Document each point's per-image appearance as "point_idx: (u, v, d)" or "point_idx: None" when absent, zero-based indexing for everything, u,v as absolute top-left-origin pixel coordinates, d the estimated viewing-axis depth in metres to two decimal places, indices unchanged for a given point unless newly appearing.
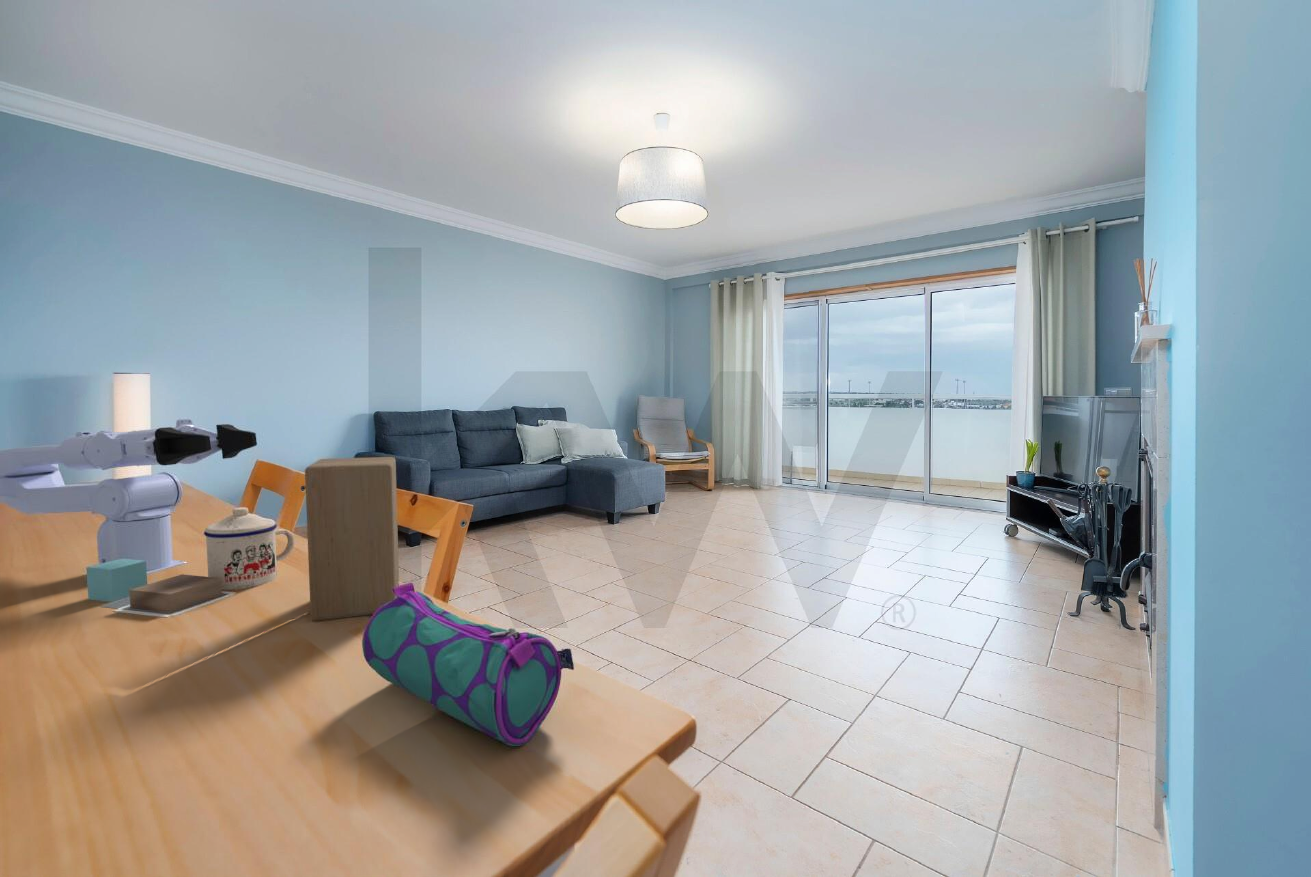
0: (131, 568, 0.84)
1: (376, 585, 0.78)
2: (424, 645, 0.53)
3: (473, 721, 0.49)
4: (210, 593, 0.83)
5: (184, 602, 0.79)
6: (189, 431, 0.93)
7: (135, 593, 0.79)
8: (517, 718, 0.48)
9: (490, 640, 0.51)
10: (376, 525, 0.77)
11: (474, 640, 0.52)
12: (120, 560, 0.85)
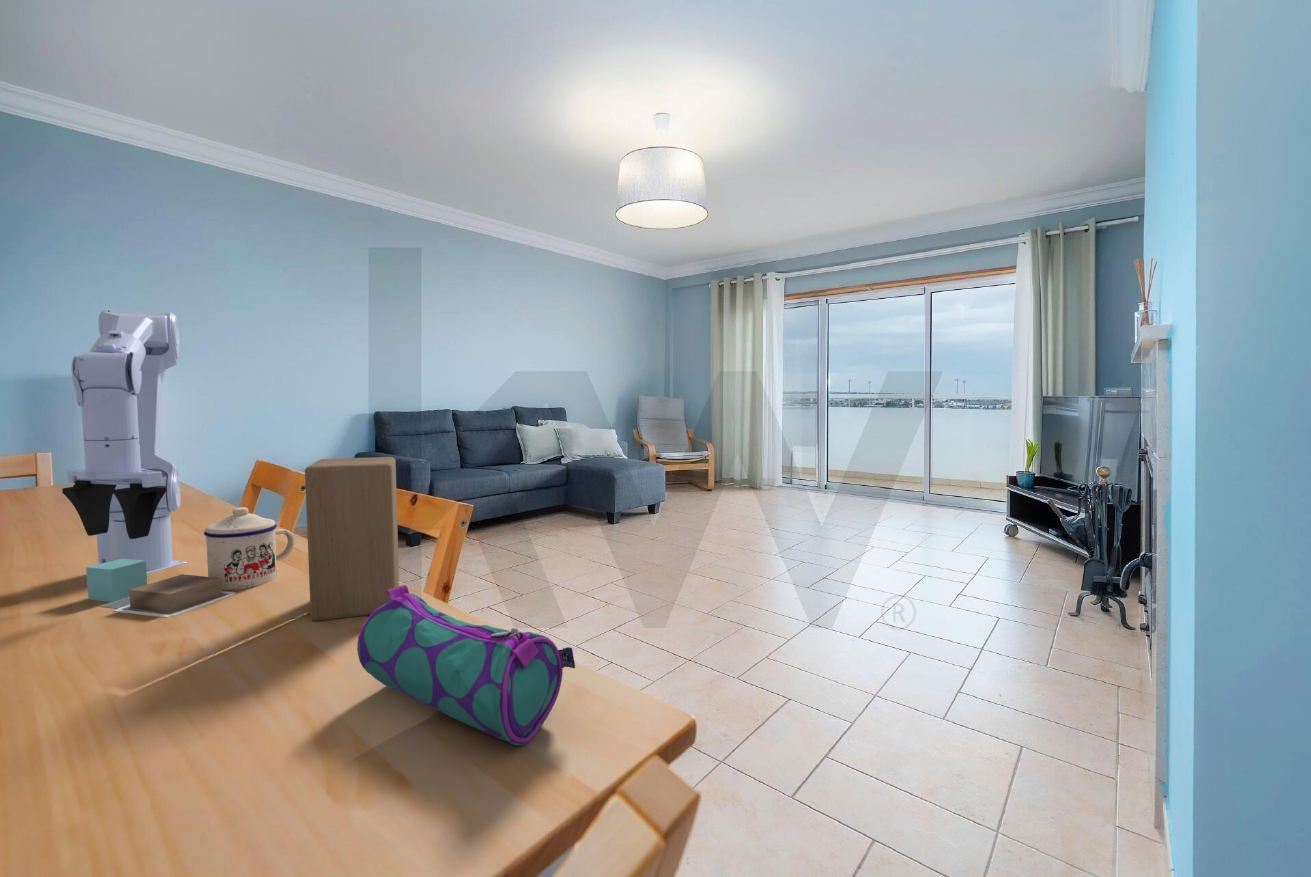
0: (131, 568, 0.84)
1: (376, 585, 0.78)
2: (424, 647, 0.53)
3: (477, 722, 0.49)
4: (210, 593, 0.83)
5: (184, 602, 0.79)
6: None
7: (135, 593, 0.79)
8: (522, 717, 0.48)
9: (492, 640, 0.51)
10: (376, 525, 0.77)
11: (475, 641, 0.52)
12: (120, 560, 0.85)
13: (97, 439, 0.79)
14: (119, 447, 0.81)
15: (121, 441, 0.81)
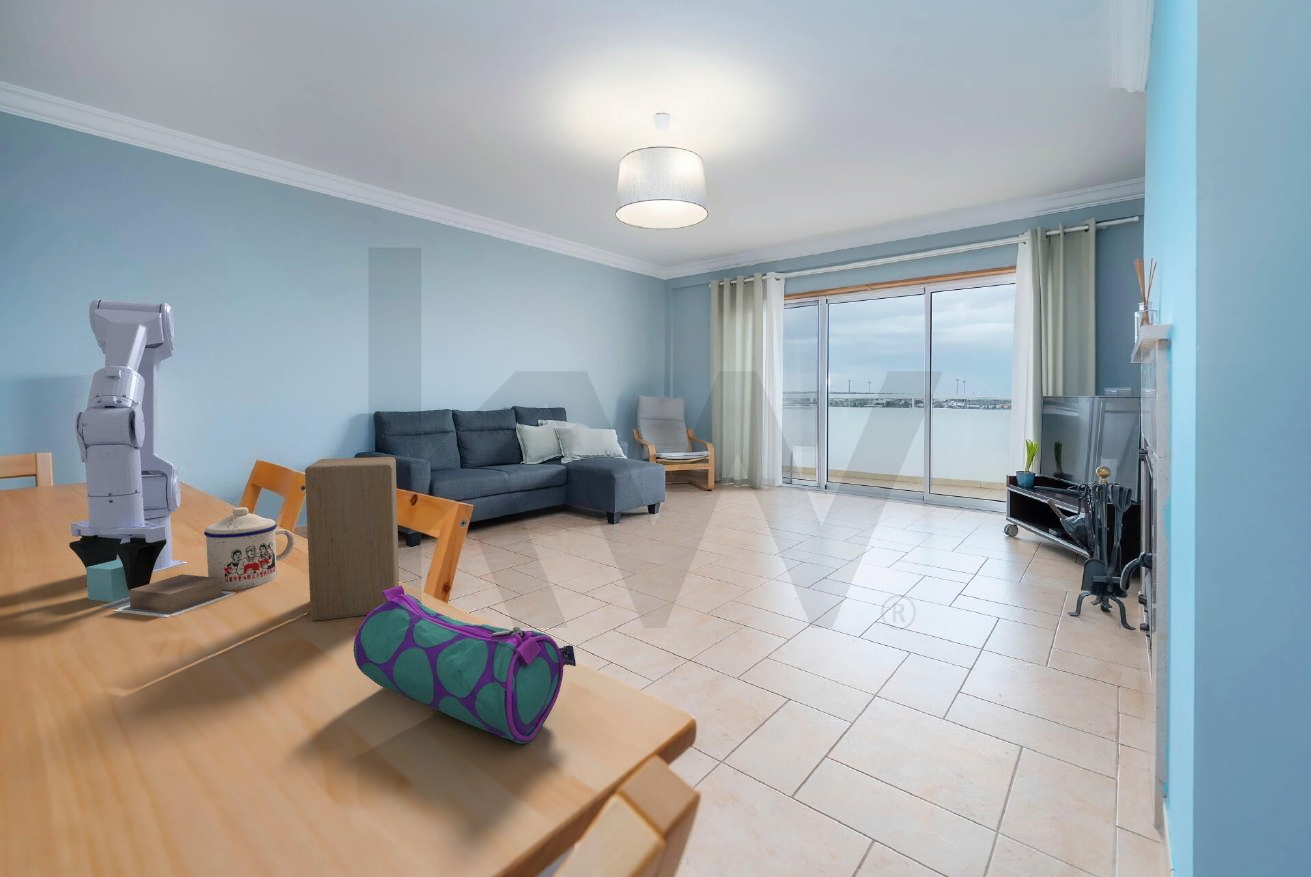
0: None
1: (376, 585, 0.78)
2: (423, 647, 0.53)
3: (479, 721, 0.49)
4: (210, 593, 0.83)
5: (184, 602, 0.79)
6: None
7: (135, 593, 0.79)
8: (526, 715, 0.48)
9: (494, 640, 0.51)
10: (376, 525, 0.77)
11: (476, 641, 0.52)
12: (120, 560, 0.85)
13: (101, 495, 0.80)
14: (123, 502, 0.81)
15: (124, 496, 0.81)
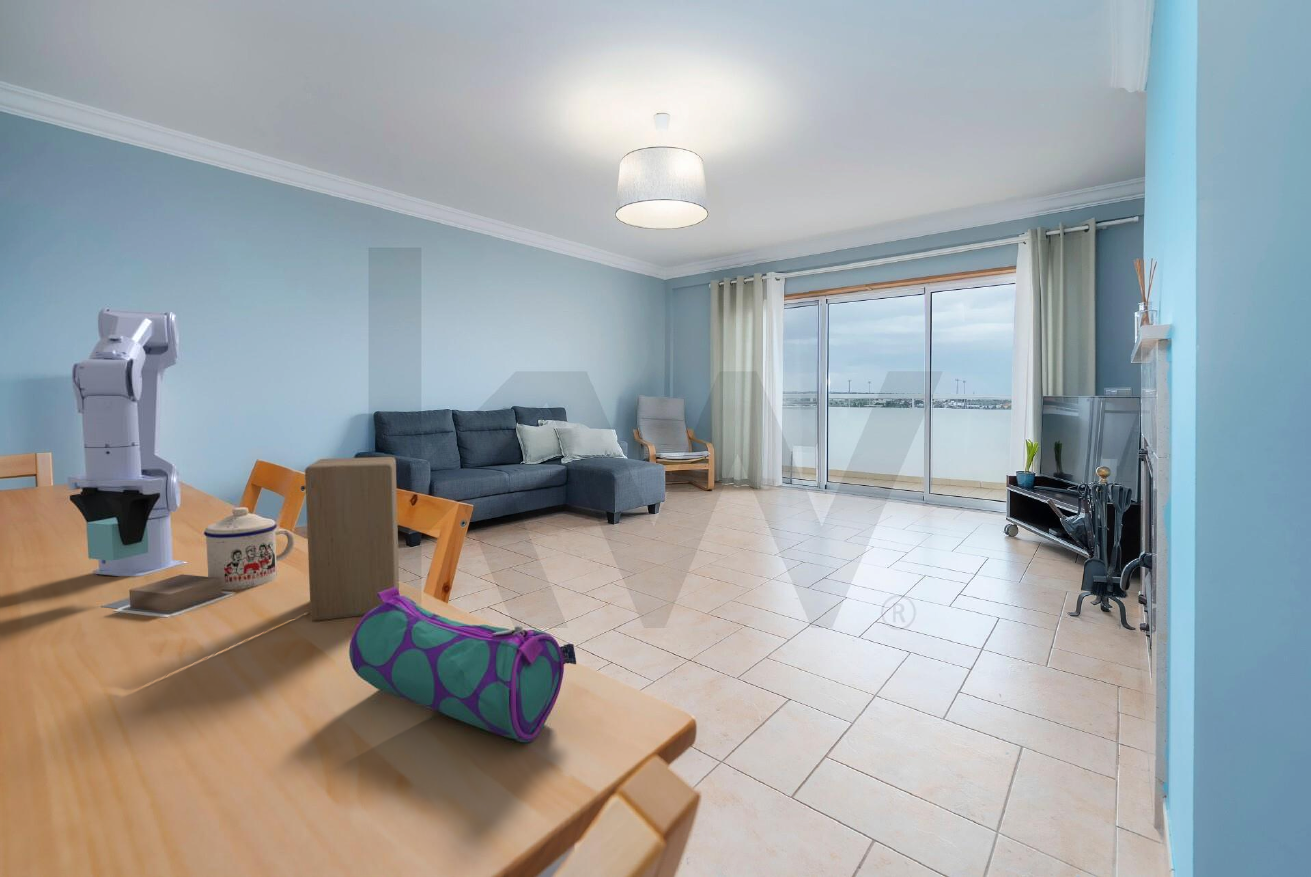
0: None
1: (376, 585, 0.78)
2: (423, 649, 0.53)
3: (482, 721, 0.49)
4: (210, 593, 0.83)
5: (184, 602, 0.79)
6: None
7: (135, 593, 0.79)
8: (529, 714, 0.49)
9: (495, 639, 0.51)
10: (376, 525, 0.77)
11: (477, 641, 0.52)
12: None
13: (97, 446, 0.80)
14: (120, 454, 0.81)
15: (121, 448, 0.81)
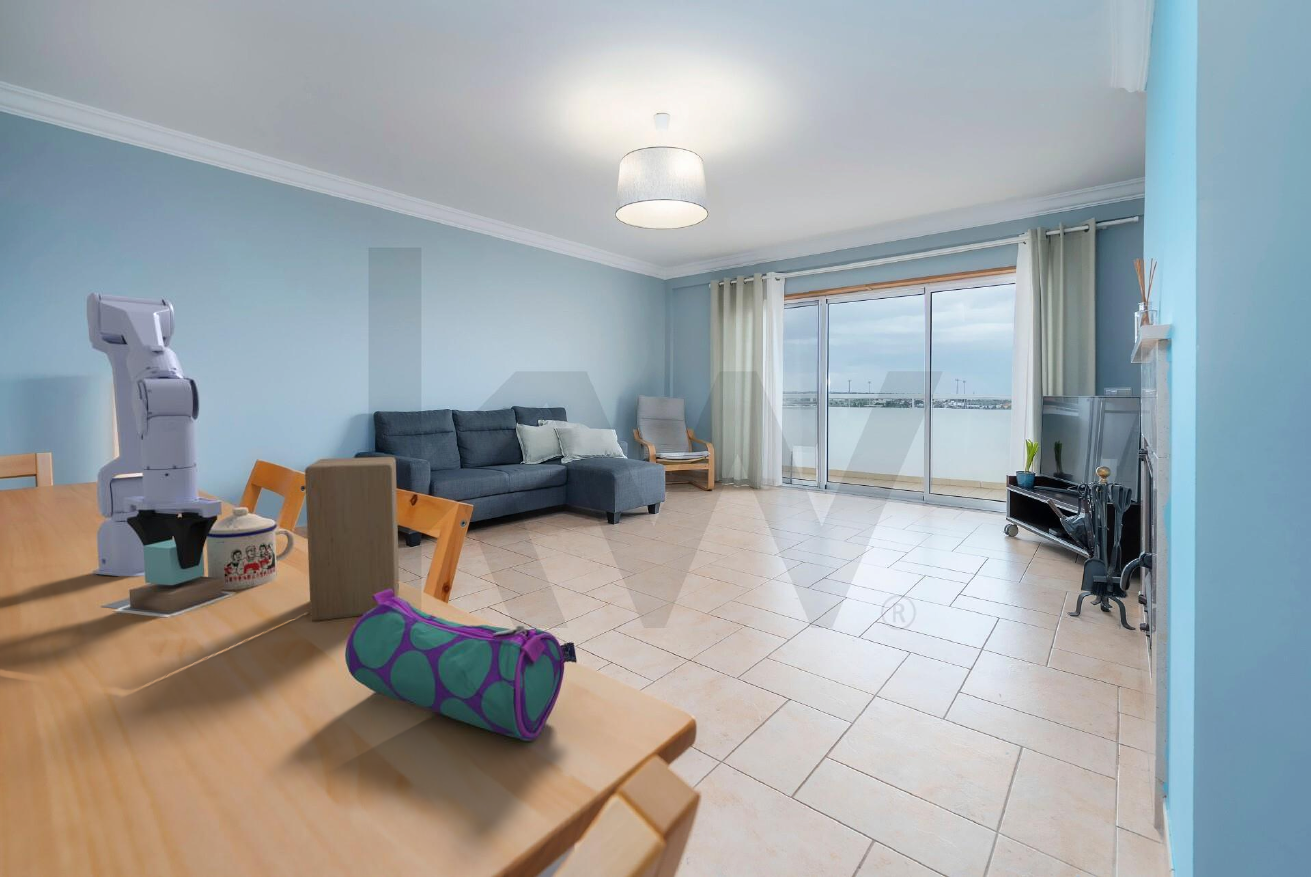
0: None
1: (376, 585, 0.78)
2: (422, 650, 0.52)
3: (485, 720, 0.49)
4: (210, 593, 0.83)
5: (184, 602, 0.79)
6: None
7: (135, 593, 0.79)
8: (533, 712, 0.49)
9: (496, 639, 0.52)
10: (376, 525, 0.77)
11: (478, 641, 0.52)
12: None
13: (157, 468, 0.77)
14: (178, 476, 0.79)
15: (180, 470, 0.79)
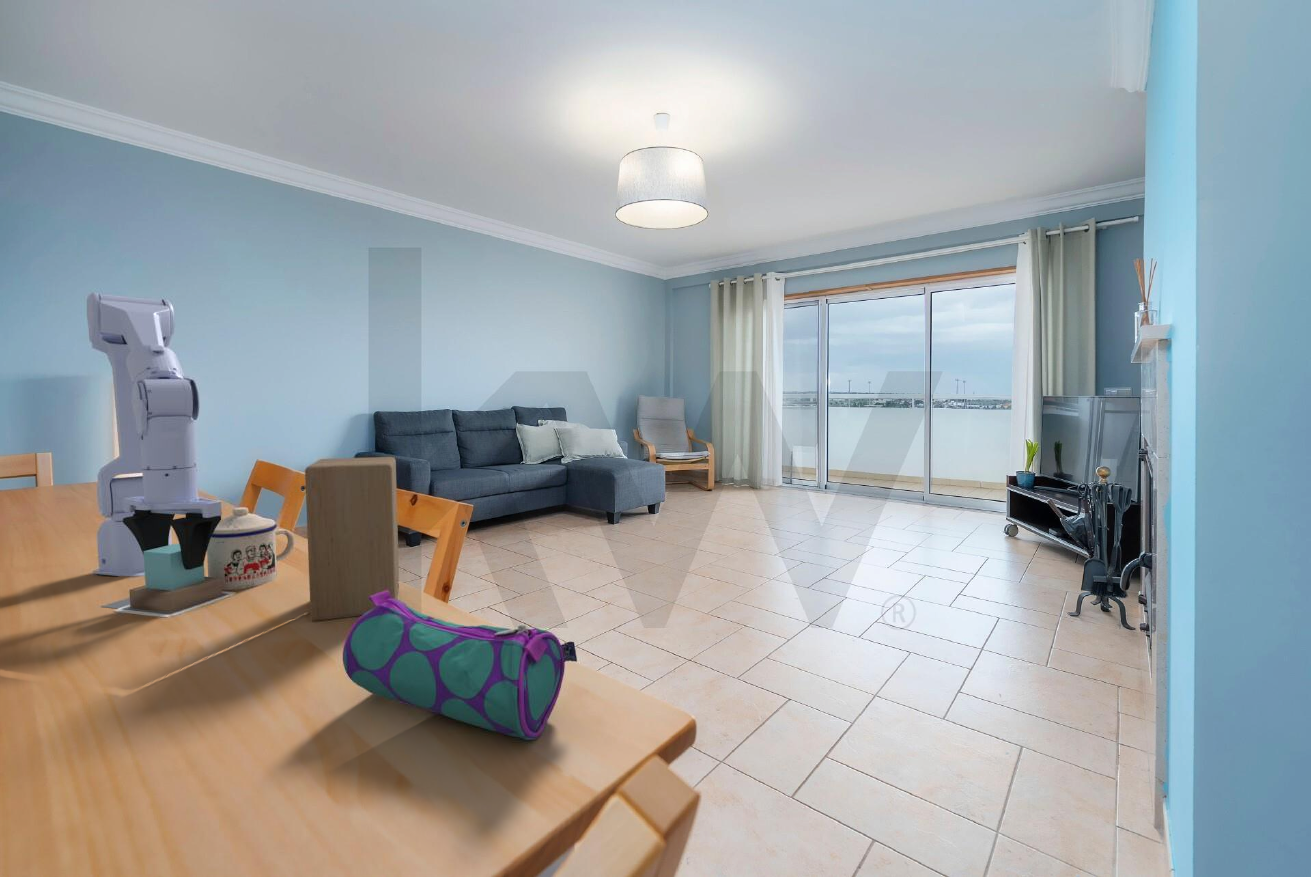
0: None
1: (376, 585, 0.78)
2: (422, 651, 0.52)
3: (487, 720, 0.49)
4: (210, 593, 0.83)
5: (184, 602, 0.79)
6: None
7: (135, 593, 0.79)
8: (536, 712, 0.49)
9: (498, 639, 0.52)
10: (376, 525, 0.77)
11: (479, 641, 0.52)
12: (176, 545, 0.83)
13: (157, 468, 0.77)
14: (178, 476, 0.79)
15: (180, 470, 0.79)
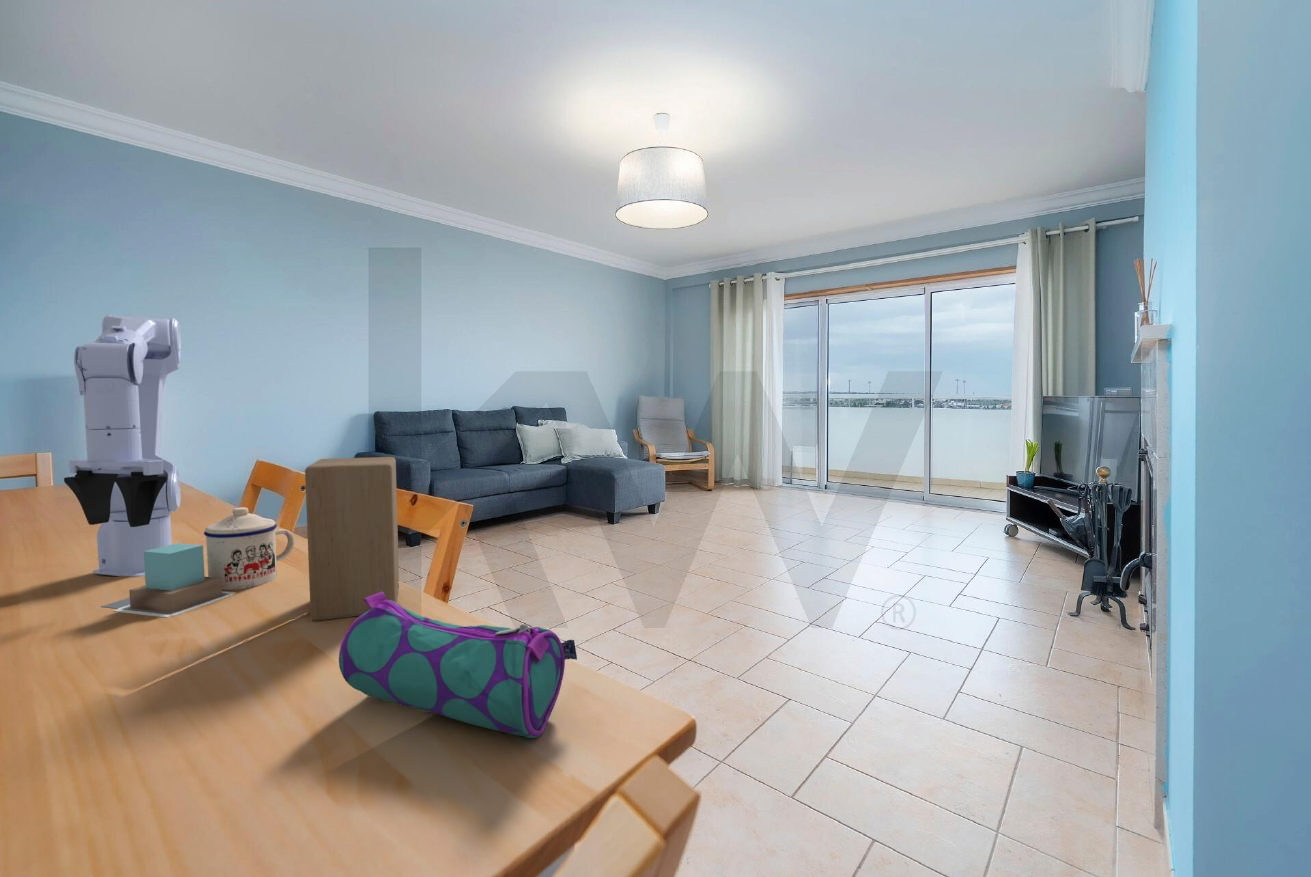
0: (189, 552, 0.81)
1: (376, 585, 0.78)
2: (422, 652, 0.52)
3: (490, 720, 0.49)
4: (210, 593, 0.83)
5: (184, 602, 0.79)
6: None
7: (135, 593, 0.79)
8: (539, 710, 0.49)
9: (499, 638, 0.52)
10: (376, 525, 0.77)
11: (480, 641, 0.52)
12: (176, 545, 0.83)
13: (99, 428, 0.80)
14: (121, 436, 0.82)
15: (122, 430, 0.82)
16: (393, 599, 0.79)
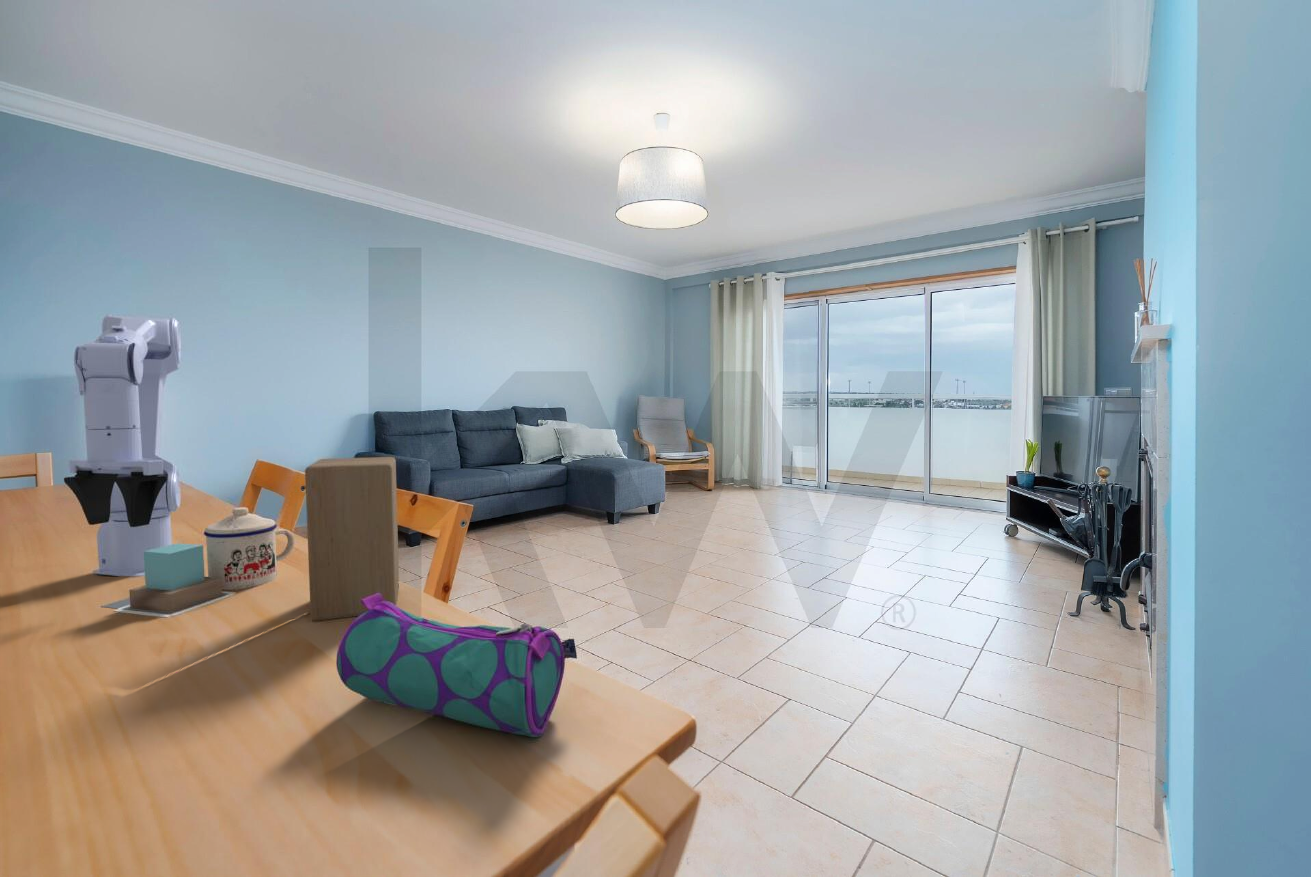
0: (189, 552, 0.81)
1: (376, 585, 0.78)
2: (422, 653, 0.52)
3: (492, 719, 0.50)
4: (210, 593, 0.83)
5: (184, 602, 0.79)
6: None
7: (135, 593, 0.79)
8: (541, 709, 0.50)
9: (500, 638, 0.52)
10: (376, 525, 0.77)
11: (481, 641, 0.52)
12: (176, 545, 0.83)
13: (99, 428, 0.80)
14: (121, 436, 0.82)
15: (122, 430, 0.82)
16: (393, 599, 0.79)
